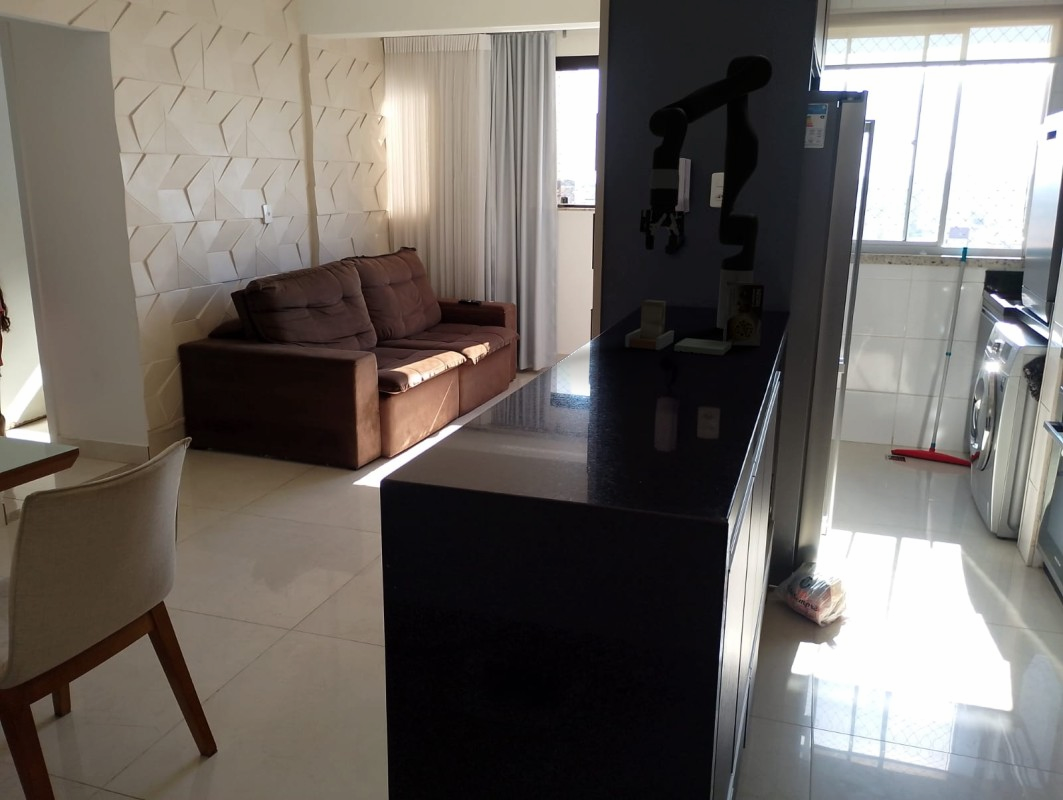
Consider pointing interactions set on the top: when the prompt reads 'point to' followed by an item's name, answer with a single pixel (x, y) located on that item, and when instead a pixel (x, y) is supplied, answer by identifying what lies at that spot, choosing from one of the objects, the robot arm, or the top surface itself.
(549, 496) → the top surface
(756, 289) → the coffee box
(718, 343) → the pad
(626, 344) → the grey frame
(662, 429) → the top surface
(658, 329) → the birch block
